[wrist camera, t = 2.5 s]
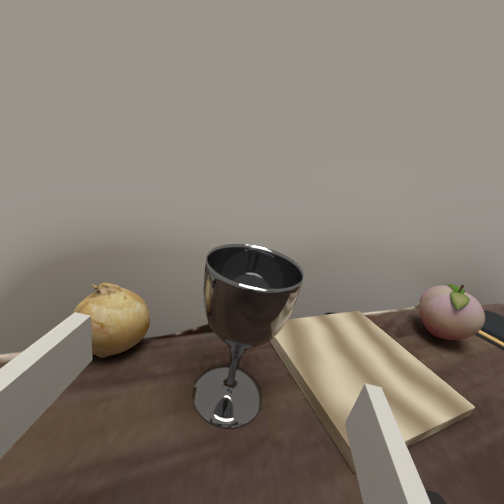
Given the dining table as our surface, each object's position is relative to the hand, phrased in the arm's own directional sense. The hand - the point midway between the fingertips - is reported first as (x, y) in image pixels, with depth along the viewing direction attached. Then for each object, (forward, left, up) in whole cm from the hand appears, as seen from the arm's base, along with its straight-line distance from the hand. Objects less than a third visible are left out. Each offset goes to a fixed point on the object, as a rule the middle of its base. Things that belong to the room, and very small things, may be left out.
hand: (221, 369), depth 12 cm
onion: (+6, -18, -14) cm, 24 cm away
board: (-22, -7, -14) cm, 27 cm away
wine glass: (-5, -8, -14) cm, 17 cm away
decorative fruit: (-43, -9, -14) cm, 46 cm away
